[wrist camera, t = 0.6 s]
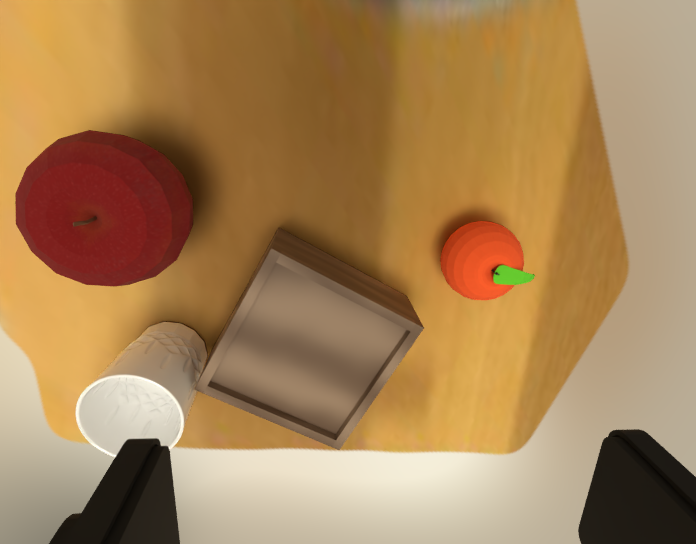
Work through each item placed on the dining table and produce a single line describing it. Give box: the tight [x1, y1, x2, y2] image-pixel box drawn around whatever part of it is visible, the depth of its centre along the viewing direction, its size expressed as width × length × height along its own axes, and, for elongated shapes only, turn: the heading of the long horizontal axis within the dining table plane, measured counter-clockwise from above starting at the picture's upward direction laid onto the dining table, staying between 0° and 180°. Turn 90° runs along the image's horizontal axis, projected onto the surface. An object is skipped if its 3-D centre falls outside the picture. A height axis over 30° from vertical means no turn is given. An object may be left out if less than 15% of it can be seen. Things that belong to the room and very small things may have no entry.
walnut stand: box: [194, 228, 424, 450], centre depth 38 cm, size 14×14×7 cm
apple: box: [16, 130, 193, 286], centre depth 31 cm, size 11×11×12 cm
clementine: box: [440, 221, 535, 300], centre depth 37 cm, size 8×7×7 cm
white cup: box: [76, 322, 207, 457], centre depth 37 cm, size 8×8×10 cm
